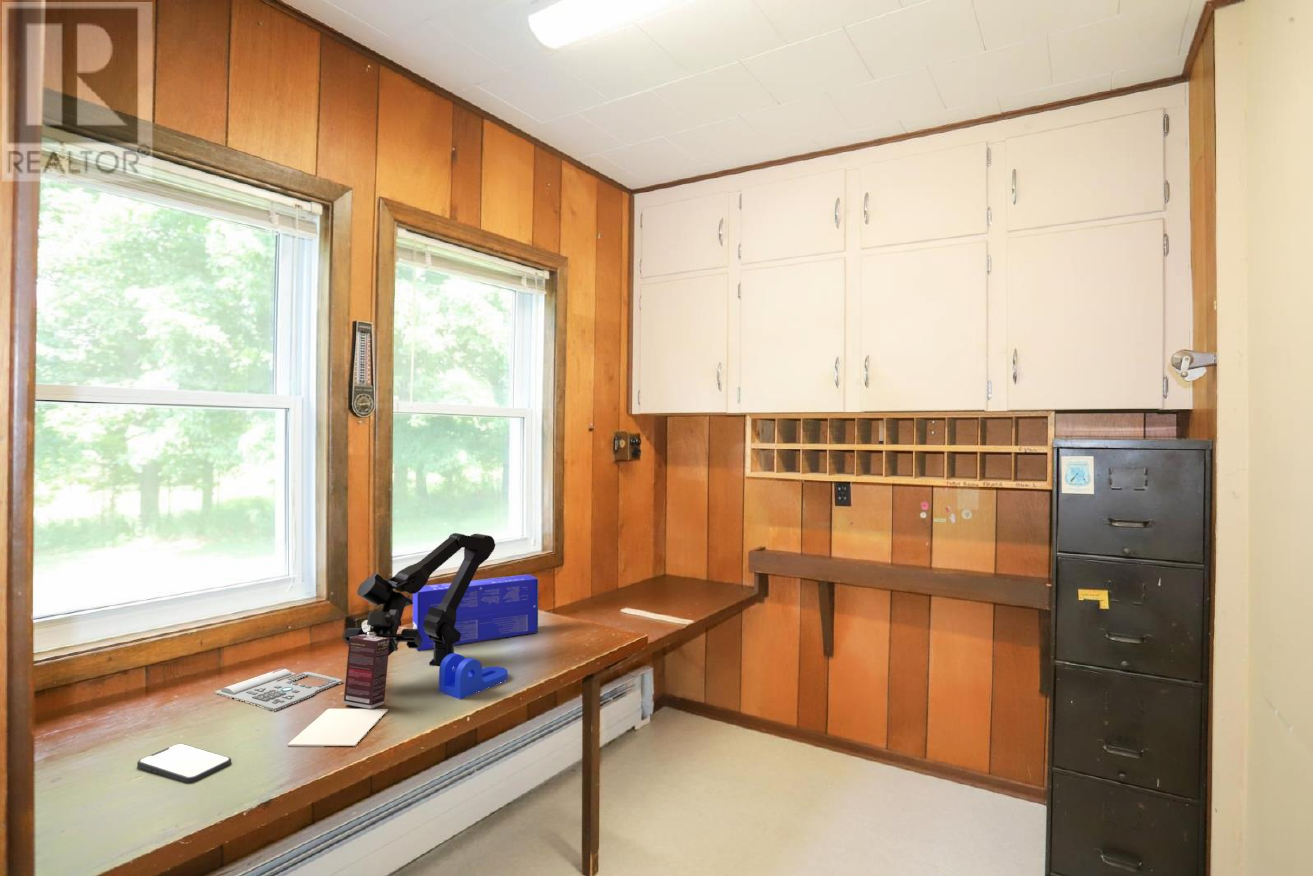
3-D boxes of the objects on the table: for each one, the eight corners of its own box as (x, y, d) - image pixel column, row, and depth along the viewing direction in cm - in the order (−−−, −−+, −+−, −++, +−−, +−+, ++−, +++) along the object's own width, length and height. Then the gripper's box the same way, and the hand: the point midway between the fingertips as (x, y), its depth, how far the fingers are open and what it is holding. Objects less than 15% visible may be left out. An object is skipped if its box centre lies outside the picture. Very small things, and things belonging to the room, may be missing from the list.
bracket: (460, 700, 163) (460, 664, 163) (438, 692, 168) (439, 657, 168) (513, 678, 178) (514, 645, 178) (493, 672, 183) (493, 639, 183)
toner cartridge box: (529, 627, 225) (530, 573, 225) (538, 634, 218) (539, 578, 218) (411, 644, 205) (412, 585, 205) (416, 652, 198) (417, 591, 198)
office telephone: (212, 686, 164) (287, 662, 182) (212, 697, 164) (287, 671, 182) (274, 703, 154) (346, 675, 172) (274, 714, 154) (346, 685, 172)
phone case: (234, 766, 130) (180, 749, 136) (235, 758, 130) (180, 741, 136) (189, 788, 122) (133, 769, 128) (189, 779, 122) (133, 761, 128)
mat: (328, 710, 155) (328, 708, 155) (387, 710, 156) (387, 709, 156) (287, 746, 137) (287, 744, 137) (354, 746, 138) (355, 744, 138)
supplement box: (385, 704, 159) (391, 637, 161) (370, 710, 155) (377, 641, 156) (357, 699, 162) (363, 633, 164) (341, 704, 158) (348, 636, 159)
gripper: (346, 597, 169) (325, 653, 158) (419, 598, 170) (402, 654, 159) (359, 619, 177) (339, 674, 166) (428, 620, 178) (413, 675, 167)
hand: (373, 669), depth 164 cm, fingers closed
